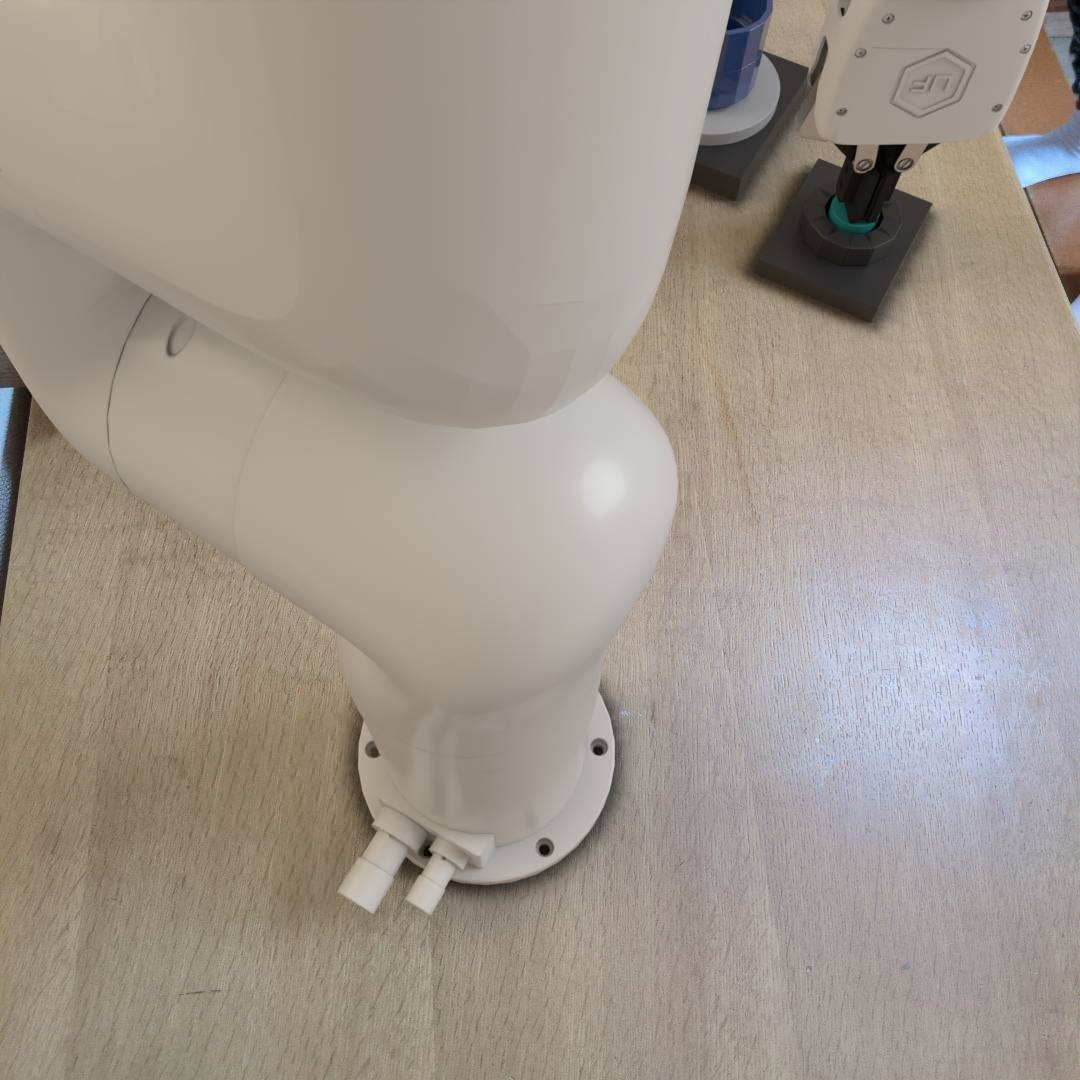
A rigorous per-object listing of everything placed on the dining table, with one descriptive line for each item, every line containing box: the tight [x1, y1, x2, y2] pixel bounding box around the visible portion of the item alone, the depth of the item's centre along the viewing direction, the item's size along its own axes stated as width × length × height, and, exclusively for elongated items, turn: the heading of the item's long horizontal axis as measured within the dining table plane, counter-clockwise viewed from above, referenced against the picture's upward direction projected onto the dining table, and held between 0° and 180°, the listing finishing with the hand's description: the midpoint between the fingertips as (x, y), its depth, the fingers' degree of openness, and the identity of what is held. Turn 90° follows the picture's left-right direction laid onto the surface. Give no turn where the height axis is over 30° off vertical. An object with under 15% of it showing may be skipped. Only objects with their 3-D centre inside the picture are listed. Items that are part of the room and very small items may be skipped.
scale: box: [690, 50, 809, 202], centre depth 70 cm, size 12×11×3 cm
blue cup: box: [707, 0, 774, 110], centre depth 66 cm, size 6×6×6 cm
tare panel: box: [753, 157, 933, 324], centre depth 65 cm, size 10×8×3 cm
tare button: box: [827, 195, 880, 234], centre depth 65 cm, size 3×3×2 cm
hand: (857, 205), depth 64 cm, fingers closed
